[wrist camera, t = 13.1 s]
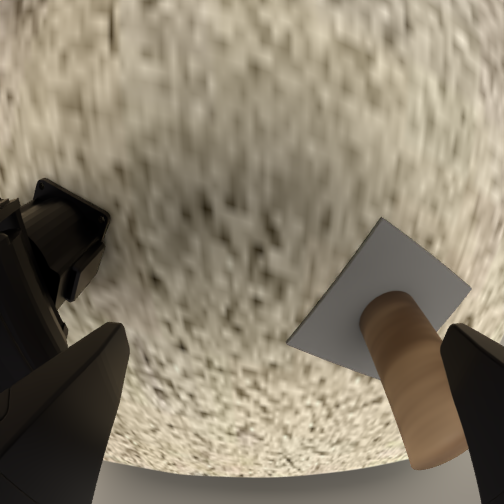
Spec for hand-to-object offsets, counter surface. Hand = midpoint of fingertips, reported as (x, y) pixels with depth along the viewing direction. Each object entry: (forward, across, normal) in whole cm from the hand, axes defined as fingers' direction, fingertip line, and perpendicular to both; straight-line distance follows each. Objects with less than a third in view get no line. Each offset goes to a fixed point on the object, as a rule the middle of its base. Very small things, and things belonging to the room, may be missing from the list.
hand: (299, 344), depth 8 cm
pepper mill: (+13, -10, +9) cm, 18 cm away
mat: (+13, -10, +9) cm, 19 cm away
